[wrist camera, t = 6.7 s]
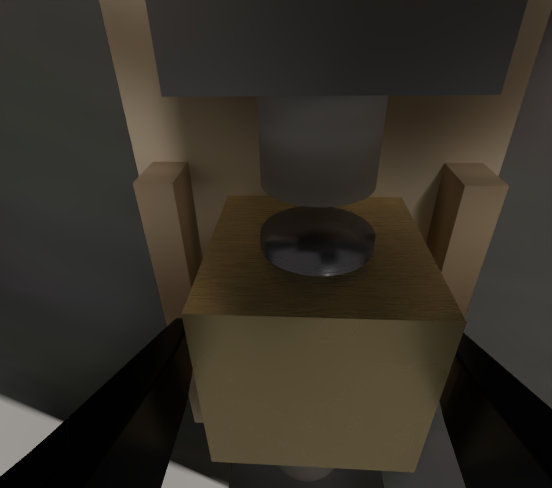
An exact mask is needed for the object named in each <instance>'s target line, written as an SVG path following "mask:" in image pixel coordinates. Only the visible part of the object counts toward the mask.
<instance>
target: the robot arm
mask: <svg viewBox="0 0 552 488" xmlns="http://www.w3.org/2000/svg"><path fill="white" fill-rule="evenodd" d="M192 372H193V368H192V363H191V358H190V353H189V348H188V344H187V339H186V334H185V329H184V324H183V319H182V318H176V319H175V320H173V321H172V322H171V323H170V324H169V325H168V326H167V327H166V328H165V329H164V330H163V331H162V332H160V333H159V334H158V335H157V336H156V337H155V338H154V339H153V340H152V341H151V342H150V343H149V344H147V345H146V346H145V347H144V348H143V349H142V350H141V351H140V352H139V353H138V354H137V355H136V356H134V357H133V358H132V359H131V360H130V361H129V362H128V363H127V364H126V365H125V366H124V367H123V368H121V369H120V370H119V371H118V372H117V373H116V374H115V375H114V376H113V377H112V378H111V379H110V380H108V381H107V382H106V383H105V384H104V385H103V386H102V387H101V388H100V389H99V390H98V391H97V392H95V393H94V394H93V395H92V396H91V397H90V398H89V399H88V400H87V401H86V402H85V403H84V404H83V405H81V406H80V407H79V408H78V409H77V410H76V411H75V412H74V413H73V414H72V415H71V416H70V417H69V419H66V420H65V421H64V422H63V423H62V424H61V425H60V426H59V427H57V428H56V429H55V430H54V431H53V432H52V433H51V434H50V435H49V436H47V437H46V438H45V439H44V440H43V441H42V442H41V443H40V444H38V445H37V446H36V447H35V448H34V449H33V450H32V451H31V452H29V453H28V454H27V455H26V456H25V457H24V458H22V459H21V460H20V461H19V462H18V463H16V464H15V465H14V466H13V467H12V468H10V469H9V470H8V471H6V472H5V473H4V474H3V475H2V476H0V488H161V486H162V483H163V480H164V476H165V473H166V469H167V467H168V463H169V460H170V457H171V454H172V450H173V447H174V444H175V440H176V437H177V434H178V431H179V427H180V424H181V421H182V418H183V414H184V411H185V407H186V403H187V399H188V394H189V388H190V383H191V378H192ZM439 401H440V406H441V410H442V414H443V418H444V421H445V425H446V428H447V431H448V434H449V437H450V440H451V443H452V446H453V449H454V452H455V455H456V458H457V462H458V465H459V468H460V471H461V474H462V477H463V480H464V483H465V486H466V488H552V409H551V408H550V407H549V406H548V405H547V404H545V403H544V402H543V401H542V400H541V399H540V398H539V397H537V396H536V395H535V394H534V393H533V392H532V391H530V390H529V389H528V388H527V387H526V386H525V385H523V384H522V383H521V382H520V381H519V380H518V379H517V378H515V377H514V376H513V375H512V374H511V373H510V372H508V371H507V370H506V369H505V368H504V367H503V366H501V365H500V364H499V363H498V362H497V361H496V360H494V359H493V358H492V357H491V356H490V355H489V354H488V353H486V352H485V351H484V350H483V349H482V348H481V347H479V346H478V345H477V344H476V343H475V342H474V341H472V340H471V339H470V338H469V337H468V336H467V335H466V334H464V333H463V334H462V337H461V340H460V343H459V346H458V349H457V352H456V354H455V357H454V360H453V363H452V366H451V369H450V372H449V375H448V377H447V380H446V383H445V386H444V389H443V392H442V395H441V397H440V400H439Z"/></svg>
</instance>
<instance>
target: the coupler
mask: <svg viewBox="0 0 552 488" xmlns="http://www.w3.org/2000/svg"><path fill="white" fill-rule="evenodd" d="M182 319H183V324H184V329H185V334H186V339H187V344H188V348H189V353H190V358H191V363H192V368H193V373H194V378H195V383H196V387H197V392H198V397H199V402H200V407H201V412H202V417H203V422H204V426H205V431H206V436H207V441H208V446H209V451H210V456H211V461H212V462H227V463H246V464H265V465H284V466H303V467H322V468H341V469H360V470H379V471H398V472H415V469H416V466H417V463H418V460H419V458H420V455H421V452H422V449H423V446H424V443H425V440H426V438H427V435H428V432H429V429H430V426H431V423H432V420H433V417H434V415H435V412H436V409H437V406H438V403H439V400H440V397H441V395H442V392H443V389H444V386H445V383H446V380H447V377H448V375H449V372H450V369H451V366H452V363H453V360H454V357H455V354H456V352H457V349H458V346H459V343H460V340H461V337H462V334H463V332H464V329H465V326H466V323H467V322H466V320H465V318H464V316H463V314H462V312H461V310H460V308H459V306H458V304H457V302H456V301H455V299H454V297H453V295H452V293H451V291H450V289H449V287H448V285H447V283H446V281H445V279H444V277H443V275H442V273H441V272H440V270H439V268H438V266H437V264H436V262H435V260H434V258H433V256H432V254H431V252H430V250H429V248H428V246H427V244H426V243H425V241H424V239H423V237H422V235H421V233H420V231H419V229H418V227H417V225H416V223H415V221H414V219H413V217H412V215H411V214H410V212H409V210H408V208H407V206H406V204H405V202H404V200H403V198H402V197H367V198H366V199H364V200H362V201H359V202H356V203H353V204H349V205H344V206H337V207H306V206H299V205H293V204H289V203H285V202H282V201H280V200H277V199H275V198H273V197H271V196H240V195H228V196H227V199H226V201H225V204H224V207H223V209H222V212H221V214H220V217H219V219H218V222H217V224H216V227H215V230H214V232H213V235H212V237H211V240H210V242H209V245H208V247H207V250H206V253H205V255H204V258H203V260H202V263H201V265H200V268H199V270H198V273H197V276H196V278H195V281H194V283H193V286H192V288H191V291H190V293H189V296H188V298H187V301H186V304H185V306H184V309H183V311H182Z"/></svg>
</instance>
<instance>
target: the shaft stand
mask: <svg viewBox="0 0 552 488" xmlns="http://www.w3.org/2000/svg"><path fill="white" fill-rule="evenodd" d="M99 2H100V7H101V11H102V15H103V20H104V24H105V29H106V33H107V37H108V42H109V46H110V51H111V55H112V59H113V64H114V68H115V73H116V77H117V81H118V86H119V90H120V95H121V99H122V104H123V108H124V112H125V117H126V121H127V126H128V130H129V134H130V139H131V143H132V148H133V152H134V156H135V161H136V165H137V170H138V174H139V177H138V178H137V179H136V180H135V181H134V182H133V186H134V191H135V195H136V199H137V203H138V207H139V212H140V216H141V220H142V224H143V228H144V232H145V237H146V241H147V245H148V249H149V253H150V258H151V262H152V266H153V270H154V274H155V278H156V283H157V287H158V291H159V295H160V299H161V304H162V308H163V312H164V316H165V320H166V325H167V326H168V325H169V324H170V323H171V322H172V321H173V320H175V319H176V318H182V311H183V309H184V306H185V304H186V301H187V298H188V296H189V293H190V291H191V288H192V286H193V283H194V281H195V278H196V276H197V273H198V270H199V268H200V265H201V263H202V260H203V258H204V255H205V253H206V250H207V247H208V245H209V242H210V240H211V237H212V235H213V232H214V230H215V227H216V224H217V222H218V219H219V217H220V214H221V212H222V209H223V207H224V204H225V201H226V199H227V196H228V195H240V196H271V197H273V198H275V199H277V200H280V201H282V202H285V203H289V204H293V205H299V206H306V207H337V206H344V205H349V204H353V203H356V202H359V201H362V200H364V199H366V198H367V197H402V198H403V200H404V202H405V204H406V206H407V208H408V210H409V212H410V214H411V215H412V217H413V219H414V221H415V223H416V225H417V227H418V229H419V231H420V233H421V235H422V237H423V239H424V241H425V243H426V244H427V246H428V248H429V250H430V252H431V254H432V256H433V258H434V260H435V262H436V264H437V266H438V268H439V270H440V272H441V273H442V275H443V277H444V279H445V281H446V283H447V285H448V287H449V289H450V291H451V293H452V295H453V297H454V299H455V301H456V302H457V304H458V306H459V308H460V310H461V312H462V314H463V316H464V317H465V314H466V311H467V308H468V305H469V302H470V299H471V296H472V294H473V291H474V288H475V285H476V282H477V279H478V276H479V273H480V270H481V267H482V264H483V261H484V258H485V255H486V253H487V250H488V247H489V244H490V241H491V238H492V235H493V232H494V229H495V226H496V223H497V220H498V217H499V214H500V211H501V209H502V206H503V203H504V200H505V197H506V194H507V191H508V188H509V185H508V184H506V183H505V182H504V181H503V180H502V179H501V178H500V177H498V176H499V173H500V170H501V166H502V163H503V160H504V157H505V154H506V151H507V148H508V145H509V141H510V138H511V135H512V132H513V129H514V126H515V123H516V119H517V116H518V113H519V110H520V107H521V104H522V101H523V98H524V94H525V91H526V88H527V85H528V82H529V79H530V76H531V73H532V69H533V66H534V63H535V60H536V57H537V54H538V51H539V48H540V44H541V41H542V38H543V35H544V32H545V29H546V26H547V23H548V19H549V16H550V13H551V10H552V0H99ZM188 395H189V399H190V403H191V408H192V412H193V417H194V421H195V423H204V422H203V417H202V412H201V407H200V402H199V397H198V392H197V387H196V383H195V378H194V373H193V372H192V378H191V383H190V388H189V394H188ZM229 488H384V485H383V479H382V473H381V471H379V470H360V469H341V468H322V467H303V466H284V465H265V464H246V463H232V469H231V475H230V482H229Z"/></svg>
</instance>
